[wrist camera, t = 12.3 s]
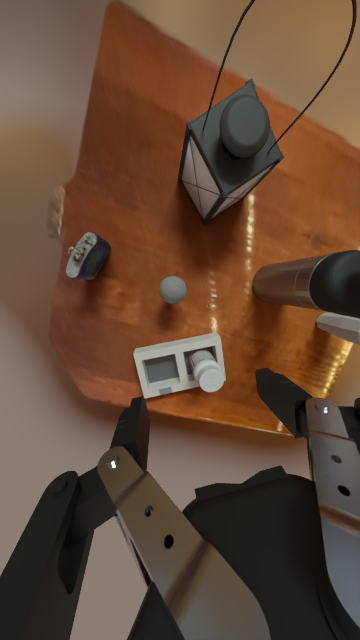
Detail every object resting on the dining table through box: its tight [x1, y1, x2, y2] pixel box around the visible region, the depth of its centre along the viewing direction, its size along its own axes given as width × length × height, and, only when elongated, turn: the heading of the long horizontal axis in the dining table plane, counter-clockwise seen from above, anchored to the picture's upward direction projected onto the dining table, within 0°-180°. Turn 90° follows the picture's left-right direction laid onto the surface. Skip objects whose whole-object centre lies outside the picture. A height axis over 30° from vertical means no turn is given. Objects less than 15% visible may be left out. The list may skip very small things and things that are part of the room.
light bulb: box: [159, 276, 187, 304], centre depth 37 cm, size 6×6×10 cm
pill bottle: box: [189, 348, 224, 392], centre depth 41 cm, size 6×6×11 cm
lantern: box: [178, 0, 356, 225], centre depth 25 cm, size 11×11×28 cm
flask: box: [66, 232, 111, 280], centre depth 34 cm, size 9×3×11 cm, turn 147°
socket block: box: [133, 333, 226, 399], centre depth 44 cm, size 21×12×4 cm, turn 100°
